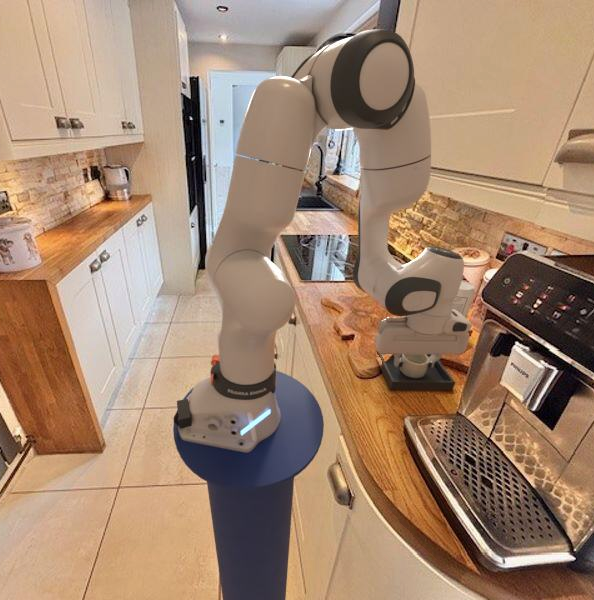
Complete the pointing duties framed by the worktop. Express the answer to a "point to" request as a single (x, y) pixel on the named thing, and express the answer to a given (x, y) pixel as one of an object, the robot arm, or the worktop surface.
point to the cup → (414, 365)
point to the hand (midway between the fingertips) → (412, 365)
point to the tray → (430, 381)
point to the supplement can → (464, 298)
